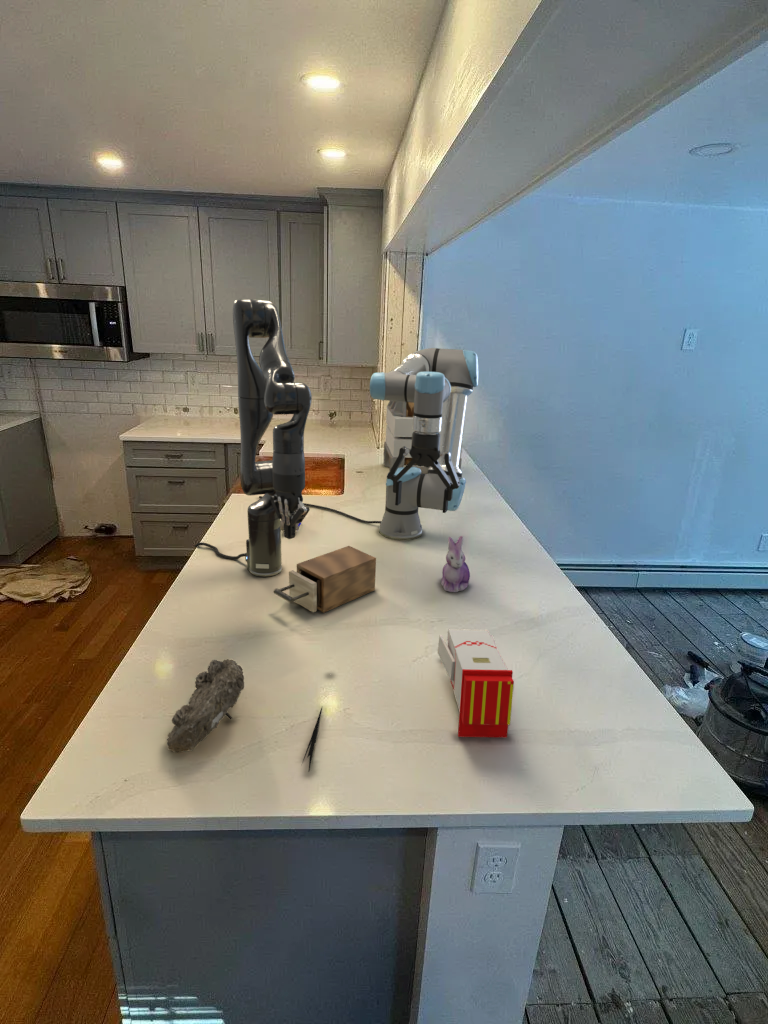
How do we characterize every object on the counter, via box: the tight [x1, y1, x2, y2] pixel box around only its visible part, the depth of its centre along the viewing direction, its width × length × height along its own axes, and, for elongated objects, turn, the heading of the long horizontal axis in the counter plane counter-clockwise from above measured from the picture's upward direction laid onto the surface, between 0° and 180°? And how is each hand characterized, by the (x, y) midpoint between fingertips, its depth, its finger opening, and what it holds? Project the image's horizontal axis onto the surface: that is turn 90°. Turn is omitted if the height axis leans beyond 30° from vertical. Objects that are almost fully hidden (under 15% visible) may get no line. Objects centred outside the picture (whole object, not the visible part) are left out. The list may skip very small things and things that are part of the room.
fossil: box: [166, 658, 245, 754], centre depth 106 cm, size 22×10×15 cm
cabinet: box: [296, 545, 377, 614], centre depth 155 cm, size 19×11×10 cm, turn 136°
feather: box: [301, 673, 332, 771], centre depth 108 cm, size 2×28×2 cm
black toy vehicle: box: [281, 519, 302, 531], centre depth 198 cm, size 7×8×15 cm
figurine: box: [440, 535, 471, 593], centre depth 161 cm, size 9×10×15 cm
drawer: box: [273, 569, 322, 613], centre depth 150 cm, size 24×10×8 cm, turn 136°
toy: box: [437, 628, 515, 738], centre depth 117 cm, size 12×13×30 cm
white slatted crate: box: [383, 401, 465, 471], centre depth 268 cm, size 34×33×41 cm
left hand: (289, 537), depth 139 cm, fingers closed
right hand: (421, 507), depth 157 cm, fingers open, 13 cm apart
